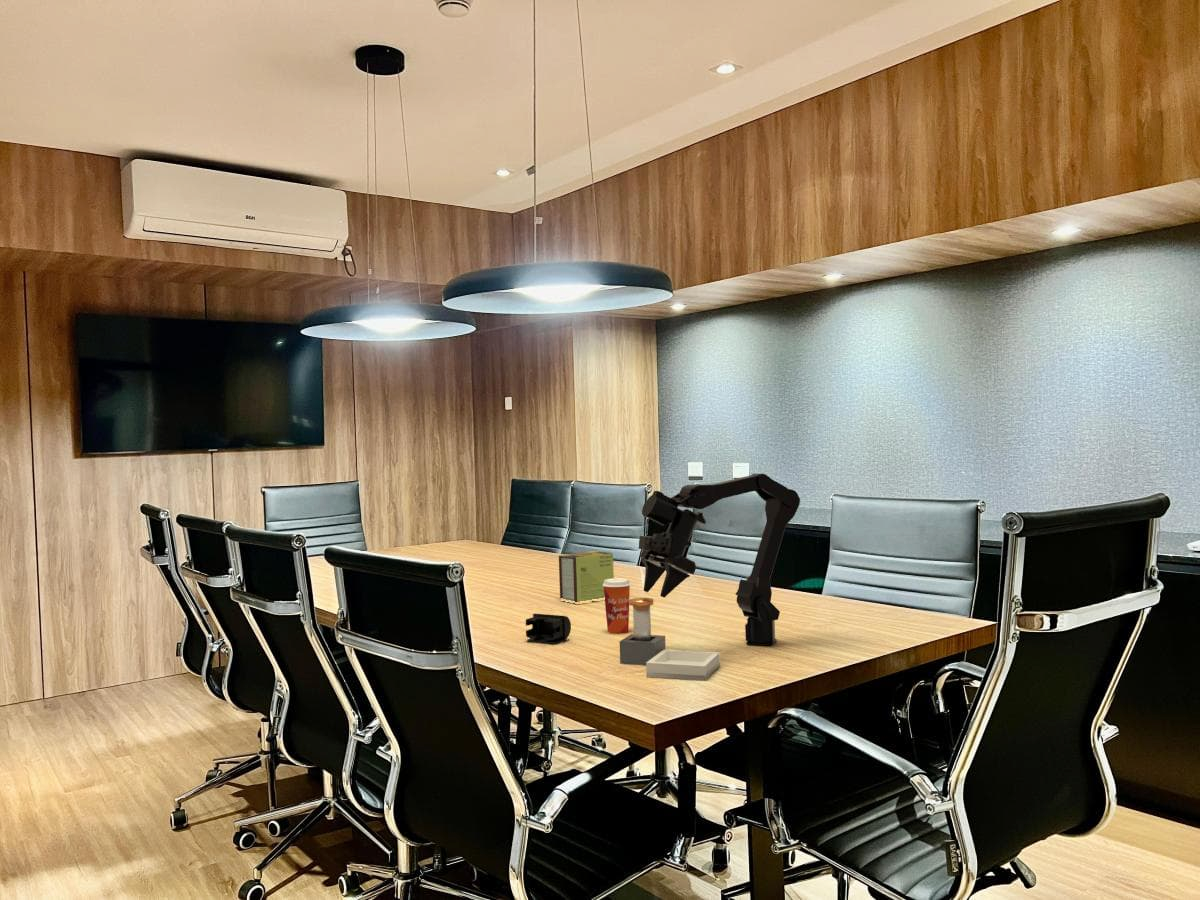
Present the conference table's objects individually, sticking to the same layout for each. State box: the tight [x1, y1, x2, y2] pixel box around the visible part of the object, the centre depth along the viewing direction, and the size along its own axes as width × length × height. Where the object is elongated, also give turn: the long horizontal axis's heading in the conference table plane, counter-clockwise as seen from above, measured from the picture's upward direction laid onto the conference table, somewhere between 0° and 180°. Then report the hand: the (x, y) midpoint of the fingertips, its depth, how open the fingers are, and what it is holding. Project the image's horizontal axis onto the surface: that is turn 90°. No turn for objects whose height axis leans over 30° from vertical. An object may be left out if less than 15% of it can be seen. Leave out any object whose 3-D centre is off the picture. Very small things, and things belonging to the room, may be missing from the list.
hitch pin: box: [629, 597, 654, 641], centre depth 205 cm, size 6×6×14 cm
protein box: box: [558, 550, 615, 602], centre depth 293 cm, size 10×15×16 cm
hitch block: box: [618, 633, 667, 666], centre depth 205 cm, size 8×8×5 cm
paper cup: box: [603, 577, 632, 635], centre depth 239 cm, size 8×8×14 cm
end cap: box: [525, 613, 572, 646], centre depth 230 cm, size 10×7×7 cm
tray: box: [645, 649, 721, 681], centre depth 194 cm, size 13×13×3 cm
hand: (653, 594), depth 209 cm, fingers open, 9 cm apart
